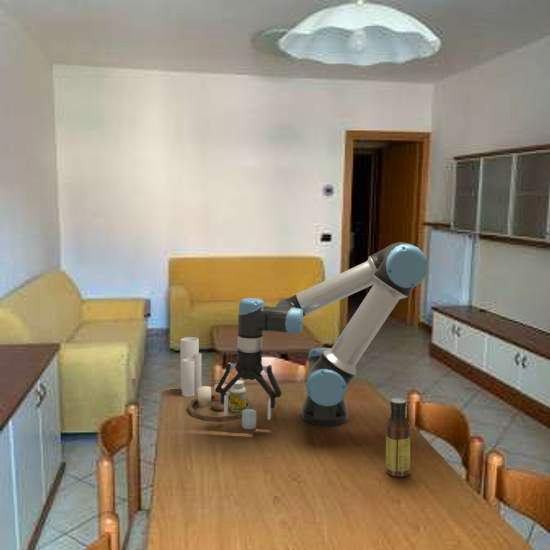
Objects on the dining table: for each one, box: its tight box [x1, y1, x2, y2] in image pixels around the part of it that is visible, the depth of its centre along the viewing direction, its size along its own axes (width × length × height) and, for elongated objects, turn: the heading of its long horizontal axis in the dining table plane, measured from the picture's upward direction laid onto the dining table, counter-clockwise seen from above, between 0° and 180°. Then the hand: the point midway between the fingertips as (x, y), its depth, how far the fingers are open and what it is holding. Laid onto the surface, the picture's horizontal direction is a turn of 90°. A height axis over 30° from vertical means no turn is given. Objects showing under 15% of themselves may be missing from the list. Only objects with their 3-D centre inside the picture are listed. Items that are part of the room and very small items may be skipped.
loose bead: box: [241, 408, 257, 433], centre depth 172 cm, size 4×4×6 cm
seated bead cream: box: [197, 385, 212, 408], centre depth 189 cm, size 4×4×6 cm
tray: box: [186, 393, 253, 422], centre depth 186 cm, size 21×21×3 cm
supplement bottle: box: [229, 379, 247, 412], centre depth 185 cm, size 5×5×10 cm
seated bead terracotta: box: [213, 382, 228, 401], centre depth 192 cm, size 4×4×6 cm
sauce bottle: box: [385, 397, 411, 478], centre depth 146 cm, size 7×6×20 cm
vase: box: [179, 336, 203, 398], centre depth 201 cm, size 11×7×20 cm, turn 16°
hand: (247, 416), depth 172 cm, fingers open, 13 cm apart
